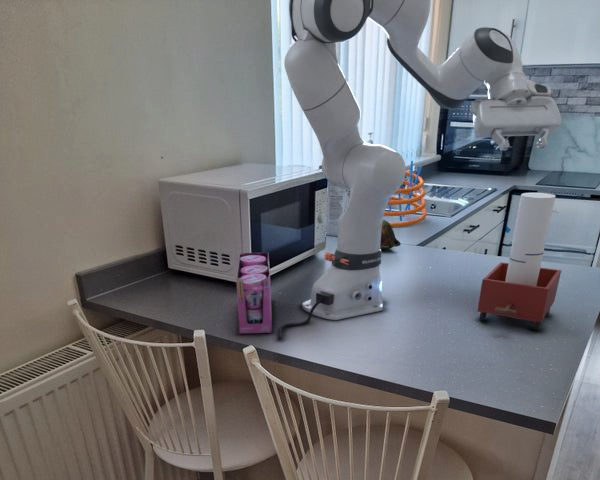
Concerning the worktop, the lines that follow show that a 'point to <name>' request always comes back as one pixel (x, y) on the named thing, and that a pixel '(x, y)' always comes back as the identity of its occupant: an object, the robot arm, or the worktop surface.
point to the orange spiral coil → (409, 200)
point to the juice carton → (335, 207)
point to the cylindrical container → (529, 238)
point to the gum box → (254, 293)
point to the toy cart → (518, 295)
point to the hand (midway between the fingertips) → (524, 148)
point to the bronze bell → (388, 236)
